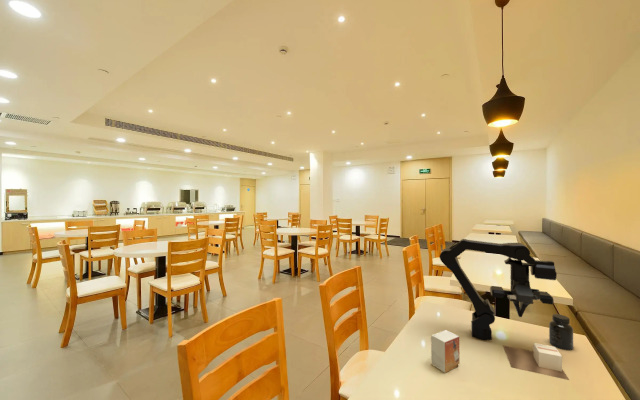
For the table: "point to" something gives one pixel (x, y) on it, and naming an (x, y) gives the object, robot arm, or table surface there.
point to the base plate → (529, 362)
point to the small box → (445, 350)
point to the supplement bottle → (561, 332)
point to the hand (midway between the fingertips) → (519, 316)
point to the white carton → (547, 357)
